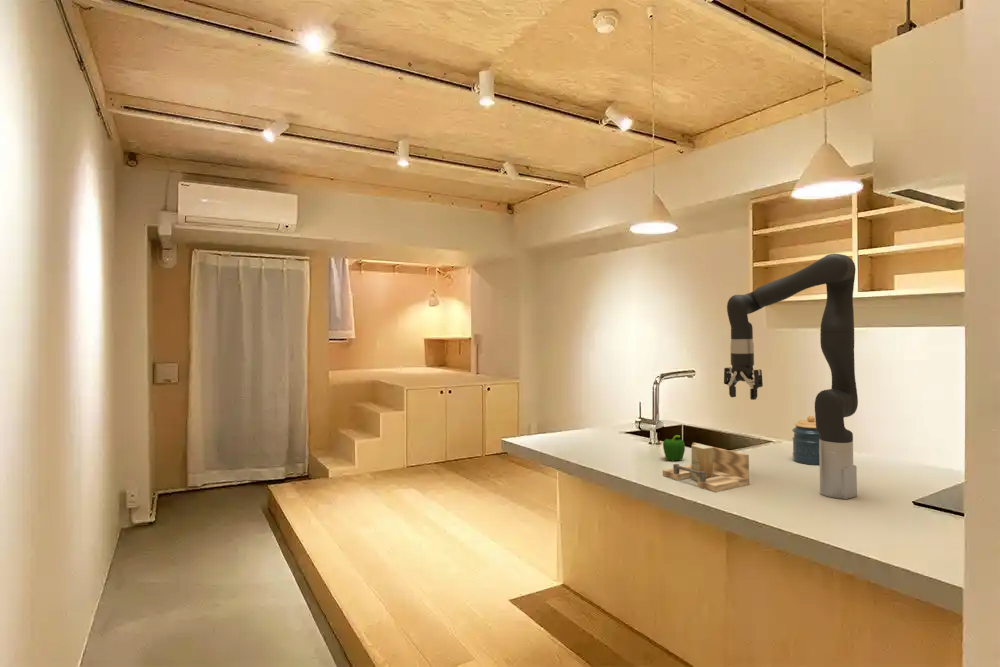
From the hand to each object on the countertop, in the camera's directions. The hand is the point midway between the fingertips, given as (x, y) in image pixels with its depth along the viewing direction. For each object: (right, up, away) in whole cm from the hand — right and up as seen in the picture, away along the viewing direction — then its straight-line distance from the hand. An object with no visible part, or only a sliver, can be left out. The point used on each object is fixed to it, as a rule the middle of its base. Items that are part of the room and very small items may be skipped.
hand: (743, 398), depth 203 cm
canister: (+35, -27, +21) cm, 49 cm away
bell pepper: (-15, -28, +29) cm, 43 cm away
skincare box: (-15, -29, -1) cm, 32 cm away
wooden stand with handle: (-13, -29, 0) cm, 32 cm away
